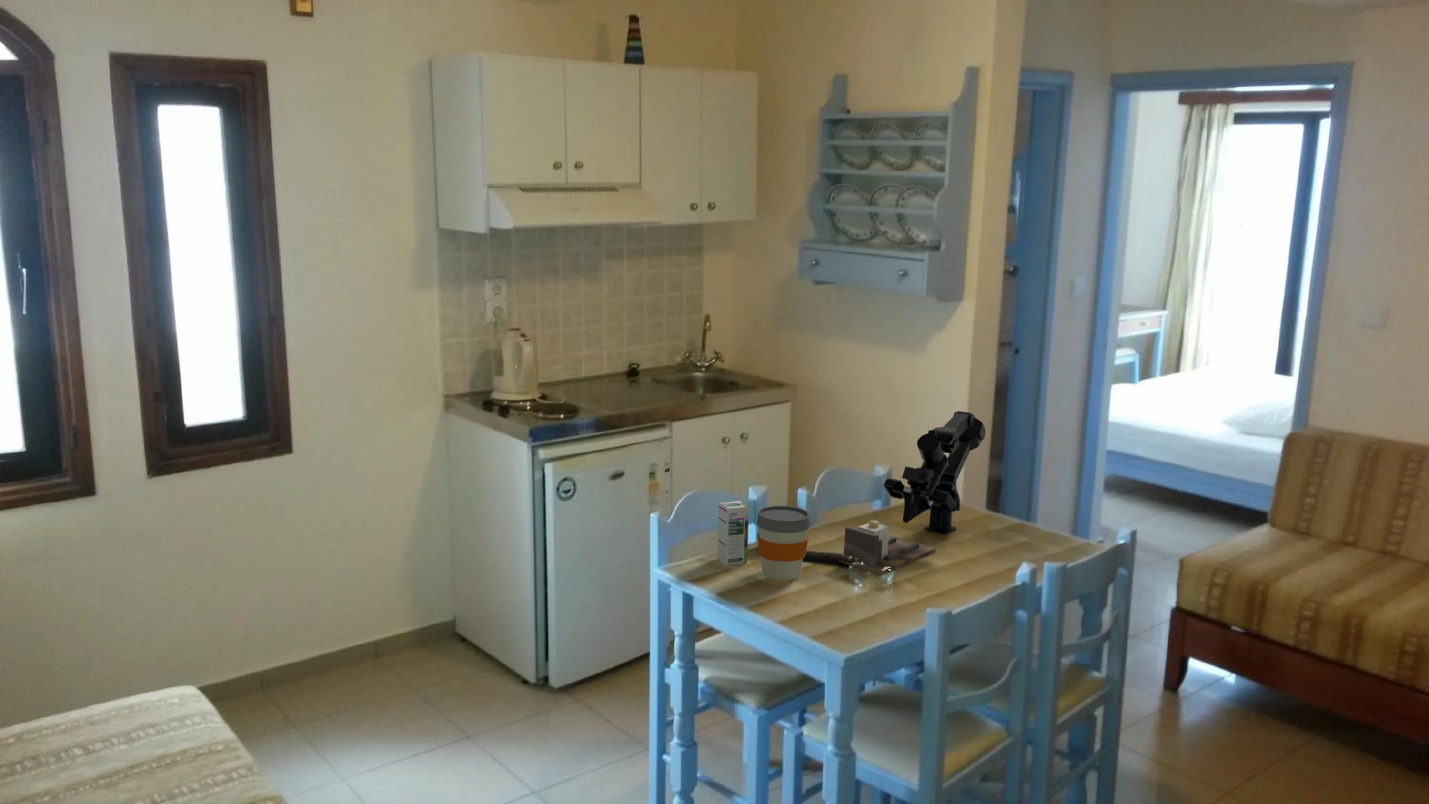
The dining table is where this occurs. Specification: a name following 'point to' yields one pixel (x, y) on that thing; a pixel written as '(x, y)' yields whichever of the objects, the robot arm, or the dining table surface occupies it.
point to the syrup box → (732, 532)
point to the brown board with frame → (871, 551)
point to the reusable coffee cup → (782, 541)
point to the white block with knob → (878, 533)
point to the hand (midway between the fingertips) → (904, 521)
